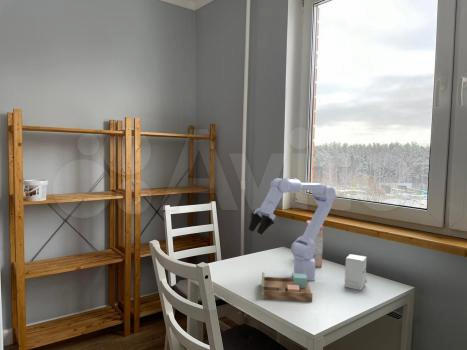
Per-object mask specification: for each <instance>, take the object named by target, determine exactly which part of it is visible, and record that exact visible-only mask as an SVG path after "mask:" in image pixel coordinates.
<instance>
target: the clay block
mask: <svg viewBox="0 0 467 350" xmlns="http://www.w3.org/2000/svg"><path fill="white" fill-rule="evenodd" d="M287 292H300V289H299V285H287Z"/></svg>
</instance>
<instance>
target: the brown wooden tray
mask: <svg viewBox="0 0 467 350" xmlns="http://www.w3.org/2000/svg"><path fill="white" fill-rule="evenodd" d="M293 282H294V278H293V277H276V276H273V277H272V276H265V272H261V285H260V289H261V290H260V291H261V292H260V299H263V300H277V301H280V300H281V301H293V302H294V301H295V302H296V301H297V302H307V303H308V302H311V303H312V302H313V294H314V293H313V292H312V291H311V287H310V283H309V280H308V279H307V288H299V289H300V292H287V285H294V283H293Z"/></svg>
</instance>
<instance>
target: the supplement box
mask: <svg viewBox="0 0 467 350" xmlns="http://www.w3.org/2000/svg"><path fill="white" fill-rule="evenodd" d="M344 269H345V270H344V285H343V287H345V288H348V289H349V288H350V289H353V290H358V291H362V290H363V288H364V287H365V286H366V280H365V278H366V277H367V275H366V273H367V256H365V255H358V254H351V253H350V254H348V256H346V258H345V268H344Z"/></svg>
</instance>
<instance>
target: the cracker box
mask: <svg viewBox="0 0 467 350" xmlns="http://www.w3.org/2000/svg"><path fill="white" fill-rule="evenodd" d="M310 221H311V220H306V228H307V227H308V225H309V223H310ZM314 243H315V245H316V248H315V250H314V255H313V257H312V259H315V268H322V265H323V248H324V247H323V246H324V244H323V243H324V225H322V226H321V228H320V230H319V232H318V234H317V236H316V238H315V240H314Z"/></svg>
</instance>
